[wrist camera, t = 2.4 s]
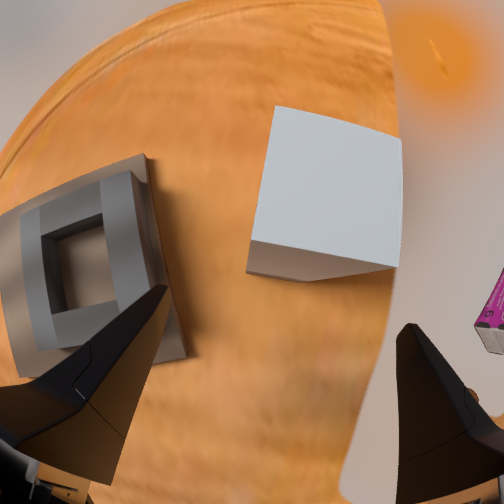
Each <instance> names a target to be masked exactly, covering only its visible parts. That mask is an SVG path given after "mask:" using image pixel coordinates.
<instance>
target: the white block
mask: <svg viewBox="0 0 504 504" xmlns="http://www.w3.org/2000/svg"><path fill="white" fill-rule="evenodd" d="M402 209H403V170H402V147H401V139H399V138H396V137H393V136H390V135H388V134H385V133H382V132H379V131H376V130H372V129H369V128H366V127H363V126H360V125H356V124H353V123H349V122H346V121H342V120H338V119H335V118H331V117H327V116H323V115H319V114H315V113H310V112H306V111H301V110H296V109H292V108H287V107H281V106H275V111H274V116H273V122H272V127H271V133H270V138H269V143H268V149H267V154H266V160H265V165H264V171H263V176H262V181H261V187H260V192H259V198H258V203H257V209H256V214H255V220H254V225H253V231H252V236H251V242H250V248H249V255H248V261H247V267H246V273H248V274H253V275H259V276H264V277H270V278H276V279H282V280H287V281H293V282H299V283H300V282H307V281H314V280H322V279H329V278H336V277H342V276H349V275H356V274H362V273H369V272H375V271H381V270H387V269H393V268H398V267H399V260H400V248H401V233H402Z"/></svg>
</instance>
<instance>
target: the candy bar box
mask: <svg viewBox="0 0 504 504" xmlns="http://www.w3.org/2000/svg"><path fill="white" fill-rule="evenodd" d="M474 327H475V329H476V331H477V333H478V335H479V336H480V338H481V340H482V341H483V344H484V346H485V348H486V349H487V351H488V352H490V353H495V354H500V355H504V268H503V271H502V273H501V275H500V277H499V279H498V281H497V284H496V285H495V288H494V290H493V291H492V293H491V295H490V298H489V299H488V301H487V303H486V305H485V307H484V308H483V310H482V312H481V314H480V316H479V317H478V319H477V321H476V322H475V324H474Z"/></svg>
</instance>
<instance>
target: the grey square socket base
mask: <svg viewBox="0 0 504 504" xmlns="http://www.w3.org/2000/svg"><path fill="white" fill-rule="evenodd" d="M158 283H162V284H167V285H169V286H170V294H171V306H170V310H169V313H168V317H167V321H166V324H165V328H164V332H163V336H162V339H161V343H160V346H159V348H158V351H157V354H156V356H155V359H154V361H153V364H154V363H160V362H166V361H171V360H176V359H181V358H186V357H187V356H188V355H189V353H188V349H187V346H186V342H185V339H184V335H183V332H182V328H181V325H180V321H179V317H178V313H177V309H176V305H175V301H174V297H173V293H172V289H171V285H170V281H169V277H168V272H167V268H166V263H165V258H164V254H163V249H162V244H161V239H160V234H159V229H158V223H157V218H156V212H155V207H154V201H153V195H152V188H151V182H150V175H149V168H148V160H147V157H146V156H145V154H144V153H142V154H139V155H136V156H133V157H130V158H127V159H125V160H122V161H119V162H116V163H113V164H111V165H108V166H105V167H103V168H100V169H98V170H95V171H93V172H90V173H88V174H85V175H83V176H80V177H78V178H76V179H73V180H71V181H69V182H66V183H64V184H62V185H60V186H57V187H55V188H53V189H51V190H49V191H47V192H45V193H43V194H40V195H38V196H36V197H34V198H32V199H30V200H28V201H27V202H25V203H23V204H21V205H19V206H17V207H15V208H13V209H11V210H10V211H8V212H6V213H4V214H3V215H1V216H0V292H1V299H2V306H3V312H4V318H5V323H6V328H7V333H8V337H9V341H10V346H11V350H12V353H13V357H14V361H15V364H16V368H17V371H18V374H19V377H20V378H22V377H39V376H41V375H42V374H44V373H45V372H47V371H48V370H49V369H51V368H52V367H54V366H55V365H57V364H58V363H60V362H61V361H62V360H64V359H65V358H67V357H68V356H69V355H71V354H72V353H73V352H75V351H76V350H77V349H78V348H79V347H81V346H82V345H83V344H84V343H85V342H87V341H88V340H90V338H91V337H93V336H94V335H95V334H96V333H97V332H99V331H100V330H101V329H102V328H103V327H105V326H106V325H107V324H108V323H109V322H111V321H112V320H113V319H114V318H115V317H117V316H118V315H119V314H120V313H121V312H123V311H124V310H125V309H126V308H128V307H129V306H130V305H131V304H132V303H134V302H135V301H136V300H137V299H139V298H140V297H141V296H142V295H144V294H145V293H146V292H147V291H149V290H150V289H151V288H152V287H154V286H155V285H156V284H158Z"/></svg>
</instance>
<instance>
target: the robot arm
mask: <svg viewBox="0 0 504 504" xmlns="http://www.w3.org/2000/svg"><path fill="white" fill-rule="evenodd" d="M170 306H171V294H170V286H169V285H167V284H162V283H158V284H156V285H155V286H154V287H152V288H151V289H150V290H149V291H147V292H146V293H145V294H144V295H142V296H141V297H140V298H139V299H137V300H136V301H135V302H134V303H132V304H131V305H130V306H129V307H128V308H126V309H125V310H124V311H123V312H121V313H120V314H119V315H118V316H117V317H115V318H114V319H113V320H112V321H111V322H109V323H108V324H107V325H106V326H105V327H103V328H102V329H101V330H100V331H99V332H97V333H96V334H95V335H94V336H93V337H91V338H90V340H88V341H87V342H85V343H84V344H83V345H82V346H81V347H79V348H78V349H77V350H76V351H75V352H73V353H72V354H71V355H69V356H68V357H67V358H65V359H64V360H62V361H61V362H60V363H58V364H57V365H55V366H54V367H52V368H51V369H49V370H48V371H47V372H45V373H44V374H42V375H41V376H39V377H38V378H36V379H35V380H33V381H31V382H28V383H25V384H21V385H13V386H5V387H0V504H94V503H93V501H92V499H91V498H90V496H89V494H88V490H89V486H90V483H91V481H95V482H98V483H102V484H105V485H109V486H111V484H112V480H113V477H114V474H115V471H116V467H117V464H118V461H119V458H120V455H121V452H122V448H123V445H124V442H125V440H124V439H126V436H127V433H128V430H129V427H130V424H131V421H132V418H133V416H134V413H135V410H136V407H137V404H138V402H139V399H140V396H141V393H142V391H143V388H144V385H145V382H146V380H147V377H148V374H149V372H150V369H151V367H152V364H153V361H154V359H155V356H156V354H157V351H158V348H159V346H160V343H161V339H162V336H163V332H164V328H165V324H166V321H167V317H168V313H169V310H170ZM396 378H397V392H398V411H399V465H398V482H397V494H396V504H416V503H421V502H425V501H428V504H504V430H503V429H501V428H499V427H498V426H497V425H496V424H495V423H494V422H493V421H492V419H491V418H490V417H489V416H488V414H487V413H486V412H485V411H484V410H483V408H482V407H481V406H480V405H479V403H478V402H477V401H476V400H475V398H474V397H473V396H472V394H471V393H470V392H469V390H468V389H467V387H466V386H464V383H463V382H462V381H461V379H460V378H459V377H458V375H457V374H456V373H455V371H454V370H453V369H452V367H451V366H450V365H449V364H448V362H447V361H446V360H445V359H444V357H443V356H442V354H441V353H440V352H439V351H438V349H437V348H436V347H435V346H434V344H433V343H432V342H431V341H430V339H429V338H428V337H427V336H426V335H425V333H424V332H423V331H422V330H421V329H420V327H419V326H418V325H417V324H412V323H408V324H406V325H405V327H404V328H403V329H402V330H401V332H400V333H399V334H398V336H397V339H396Z"/></svg>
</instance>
